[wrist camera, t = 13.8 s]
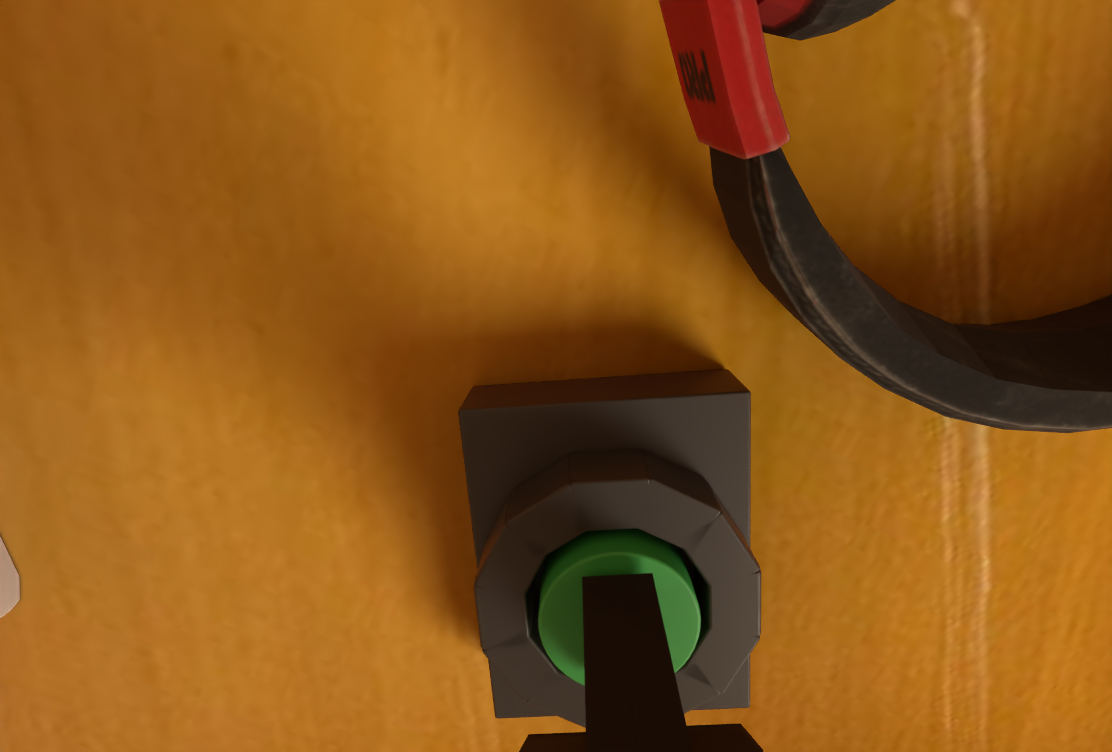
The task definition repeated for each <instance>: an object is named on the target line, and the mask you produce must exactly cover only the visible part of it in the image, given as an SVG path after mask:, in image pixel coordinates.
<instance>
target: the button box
mask: <svg viewBox="0 0 1112 752" xmlns="http://www.w3.org/2000/svg"><path fill="white" fill-rule="evenodd" d="M458 414H459V423H460V431H461V439H462V447H463V456H464V464H465V472H466V480H467V488H468V497H469V505H470V513H471V521H472V530H473V538H474V546H475V554H476V563H477V574H476V578H475V583H474V595H475V603H476V611H477V619H478V627H479V635H480V643H481V647H482V650H483V653H484V654H485V655H486V657H487V658H488V661H489V669H490V678H491V686H492V694H493V702H494V711H495V717H496V718H518V717H541V716H559V717H561V718H564V719H566V720H568V721H571V722H573V723H575V724H578V725H580V726H583V727H585V728H586V715H585V686H584V685H582V684H580V683H578V682H576V681H574V680H573V679H571V678H570V677H568V676H567V675H565V674H564V673H563V672H562V671H561V670H559V668H558V667H557V666H556V665H555V664H554V663H553V662H552V660H551V659H550V657H549V656H548V654H547V653H546V651H545V649H544V647H543V644H542V641H541V638H540V634H539V628H538V614H539V602H540V591H541V579H542V571H543V567H544V563H545V560H546V558H547V556H548V554H550V553H551V552H553V551H555V550H556V549H558V548H560V547H561V546H563V545H565V544H566V543H568V542H570V541H571V540H573V539H575V538H576V537H578V536H580V535H581V534H583V533H585V532H586V531H598V530H616V529H634V528H638V529H640V530H642V531H645V532H647V533H649V534H651V535H653V536H656V537H658V538H660V539H662V540H665V541H667V542H669V543H671V544H673V545H676V546H677V547H678V549H679V550H680V552H681V554H682V556H683V558H684V561H685V563H686V566H687V570H688V573H689V576H690V579H691V582H692V585H693V588H694V591H695V594H696V597H697V600H698V604H699V608H700V615H701V626H700V633H699V637H698V640H697V643H696V646H695V648H694V650H693V652H692V654H691V656H690V657H689V658H688V660H687V661H686V663H685V664H684V665H683V666H682V667H681V668H680V669H679V670H678V671H677V672H676V673H675V677H676V681H677V686H678V690H679V695H680V699H681V704H682V708H683V713H684V714H685V713H686V712H688V711H690V710H705V709H729V708H748V707H750V653H751V651H752V650H753V648H754V647H755V645H756V644H757V642H758V641H759V639H760V633H761V571H760V567H759V564H758V562H757V561H756V559H755V557H754V555H753V553H752V551H751V549H750V441H751V393H750V391H749V390H748V389H747V388H746V387H745V386H744V385H743V384H742V383H741V382H740V381H739V380H738V379H737V378H736V377H735V376H734V375H733V374H732V373H731V372H730V371H729V370H727V369H725V370H710V371H695V372H680V373H665V374H650V375H635V376H621V377H606V378H591V379H576V380H561V381H546V382H531V383H516V384H501V385H486V386H474V387H472V388H471V390H470V392H469V394H468V395H467V397H466V399H465V400H464V402H463V404H462V405H461V407H460V409H459V411H458Z"/></svg>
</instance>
